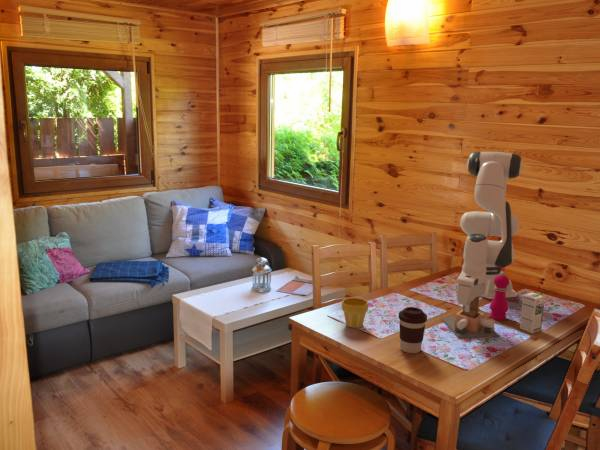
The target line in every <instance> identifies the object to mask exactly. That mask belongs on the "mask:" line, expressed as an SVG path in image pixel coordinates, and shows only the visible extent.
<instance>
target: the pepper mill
mask: <svg viewBox="0 0 600 450" xmlns="http://www.w3.org/2000/svg"><path fill="white" fill-rule="evenodd" d="M509 280H510V279H509V277H508V276H507V275H505V271H504V272H503V271H501V273H500V275H498V276H496V277H495V278H494V284H495V288H494V289H495V296H494V298H493V299H491V301H490V304H489V309H490V310H491V311H490V314H489V316H490V318H491V319H493V320H497V321H505V320H506V319H507V314H506V313H507V312H508V311H509V304H508V301H507V298H506V291H507V286H508V285H509Z"/></svg>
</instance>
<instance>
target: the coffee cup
mask: <svg viewBox="0 0 600 450" xmlns="http://www.w3.org/2000/svg"><path fill="white" fill-rule="evenodd" d="M398 319H399V339H400V341H399V342H400V343H399V344H400V345H399V347H400V349H401V351H403V352H405V353H407V354H418V353H420V352H421V350H422V347H423V346H422V345H423V341H424V337H425V336H424V335H425V328H426V325H425V324H426V322H427V321H428V315H427V314H426V312H424V311H423V309H421V308H419V307H415V306H408V307H407V306H406V307H405V308H403V309H402V310H400V311H399V312H398Z"/></svg>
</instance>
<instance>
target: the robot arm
mask: <svg viewBox="0 0 600 450" xmlns="http://www.w3.org/2000/svg"><path fill="white" fill-rule="evenodd" d="M466 167H467V171H468V173H469V174H470V175H471V176H475V177H476V179H475V180H476V181H475V186H474V197H473V198H474V201H475V203H476V204H477V206H479V207H480V208H481V209H483V210H485V211H479V210H478V211H477V210H475V211H473V210H472V211H466V212H464V213H463V214H462V216H461V217H460V221H459V225H460V228H461V230H462V232H463V233H465V234H466V235H467V237H466V239H465V242H464V244H463V247H462V257H463V264H462V267H461V273H460V275H458V277H457V279H456V283H457V284H458V286H457V288H456V289H457V292H456V293H457V294H456V301H457V303H458V305H462V306H463V305H464V306H465V312H470V311H471V307H470V304H471V302H472V301H473V300H474V299H475V298H476V297H478V296H480V297H479V298H481V297H482V298H485V299H488V300H493V298H494V296H495V289H494V288H495V284H494V278H495V277H496V276H498V275H500V273H501V272H504V273H505V271H506V267H508V266H510V265H511V264H512V263H513V261H514V259H515V248H514V244H513V236H515V235H516V234H517V233H518V231H519V229H520V221H519V219H518V217H517V216H516V215H515V214H513V213H512V210H511V205H510V202H508V201H507V199H506V197H507V187H508V186H507V185H508V179H509V180H510V179H516V178H518V177H519V176H520V174H521V173H522V171H523V167H524V162H523V159H522V156H521V155H519V154H517V153H510V152H502V151H478V150H477V151H473V152H472V153H470V155H469V157H468V158H467V162H466ZM488 236H489V237H499V238H501V239H500V240H490V239H488ZM517 297H518V293H517V292H516V290H514V289H513V284H512V281H511V280H510V279H509V285H508V286H507V291H506V299H507V298H517Z"/></svg>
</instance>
